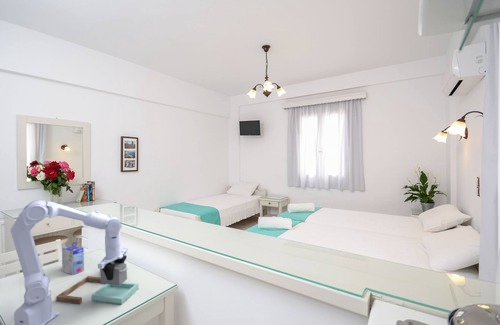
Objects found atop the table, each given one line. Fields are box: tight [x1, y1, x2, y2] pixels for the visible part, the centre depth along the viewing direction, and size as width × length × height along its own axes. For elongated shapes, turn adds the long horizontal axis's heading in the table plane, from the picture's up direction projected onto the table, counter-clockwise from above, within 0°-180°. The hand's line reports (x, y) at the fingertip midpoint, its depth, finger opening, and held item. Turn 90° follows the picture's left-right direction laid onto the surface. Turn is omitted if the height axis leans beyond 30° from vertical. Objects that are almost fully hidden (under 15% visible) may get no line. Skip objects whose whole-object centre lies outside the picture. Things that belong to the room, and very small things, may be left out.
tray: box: [90, 281, 139, 305], centre depth 98 cm, size 10×14×2 cm
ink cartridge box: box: [61, 241, 85, 276], centre depth 118 cm, size 10×6×14 cm, turn 66°
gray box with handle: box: [99, 262, 128, 285], centre depth 98 cm, size 4×10×7 cm, turn 80°
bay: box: [55, 275, 102, 305], centre depth 101 cm, size 15×11×2 cm
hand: (114, 276), depth 98 cm, fingers closed on gray box with handle, 4 cm apart
